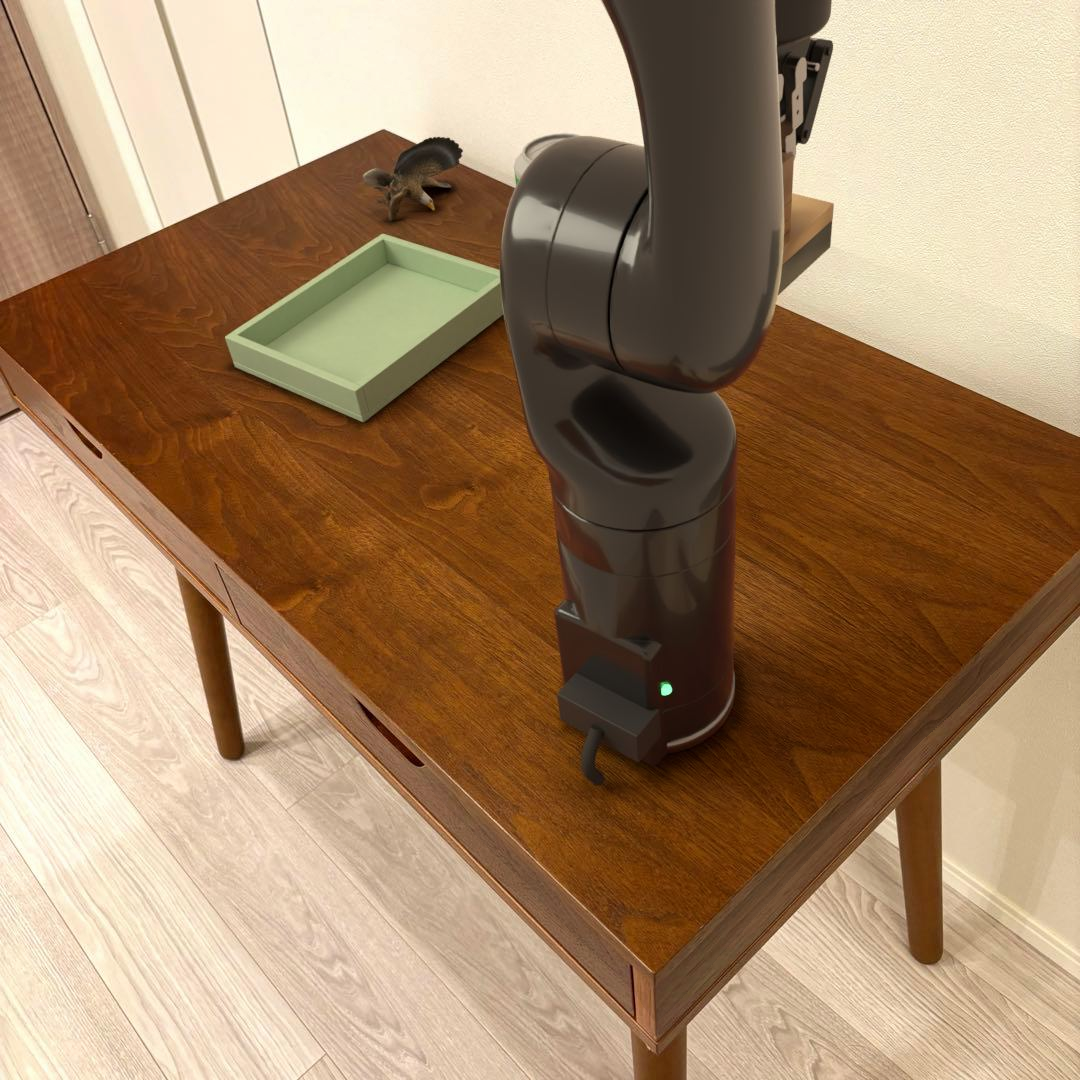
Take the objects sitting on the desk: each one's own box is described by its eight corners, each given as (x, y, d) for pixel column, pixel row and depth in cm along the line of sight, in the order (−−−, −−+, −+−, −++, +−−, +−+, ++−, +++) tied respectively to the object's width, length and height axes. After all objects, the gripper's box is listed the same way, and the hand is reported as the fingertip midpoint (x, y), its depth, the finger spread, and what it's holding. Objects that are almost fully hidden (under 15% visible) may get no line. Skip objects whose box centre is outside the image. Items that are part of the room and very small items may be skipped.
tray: (363, 422, 90) (355, 391, 88) (234, 367, 98) (224, 336, 96) (516, 304, 101) (512, 273, 99) (389, 262, 109) (382, 233, 107)
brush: (743, 328, 70) (745, 204, 65) (675, 306, 73) (672, 186, 67) (830, 247, 76) (840, 127, 70) (764, 230, 78) (768, 113, 73)
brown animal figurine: (433, 221, 111) (481, 166, 115) (382, 163, 108) (434, 108, 112) (393, 244, 117) (441, 190, 121) (345, 189, 114) (395, 136, 118)
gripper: (768, -110, 66) (760, 173, 78) (628, -32, 59) (643, 267, 70) (890, -99, 62) (862, 197, 74) (756, -14, 55) (749, 299, 67)
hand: (755, 230), depth 72 cm, fingers closed on brush, 2 cm apart
